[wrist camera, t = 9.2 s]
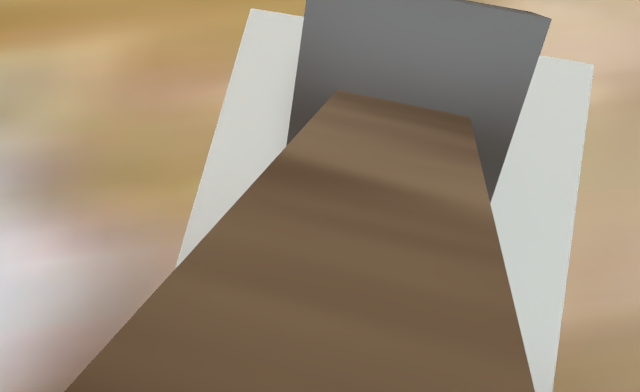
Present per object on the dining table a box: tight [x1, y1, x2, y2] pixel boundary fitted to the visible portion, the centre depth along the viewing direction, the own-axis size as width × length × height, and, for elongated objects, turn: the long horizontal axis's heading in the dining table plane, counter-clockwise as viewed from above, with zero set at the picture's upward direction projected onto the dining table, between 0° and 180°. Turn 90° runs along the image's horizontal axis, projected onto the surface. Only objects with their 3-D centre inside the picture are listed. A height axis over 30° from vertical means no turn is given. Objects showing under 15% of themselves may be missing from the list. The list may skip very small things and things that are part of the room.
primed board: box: [175, 8, 594, 392], centre depth 16 cm, size 22×12×2 cm, turn 167°
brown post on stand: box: [65, 0, 551, 392], centre depth 9 cm, size 8×5×12 cm
